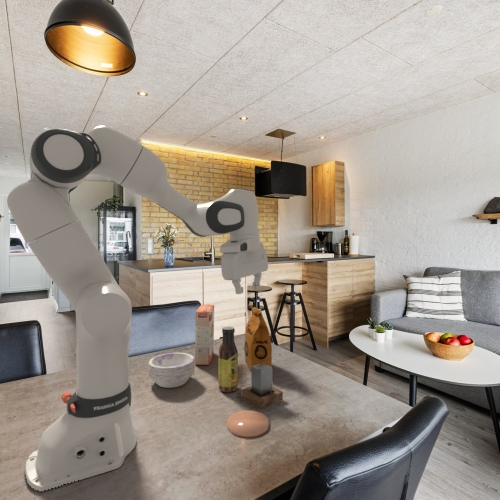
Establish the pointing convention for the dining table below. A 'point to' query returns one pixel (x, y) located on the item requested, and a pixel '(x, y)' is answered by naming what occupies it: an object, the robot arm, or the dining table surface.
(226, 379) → the sauce bottle
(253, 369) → the steel peg
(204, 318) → the cracker box
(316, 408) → the dining table surface
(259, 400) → the socket block
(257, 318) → the coffee package
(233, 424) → the peach domed puck
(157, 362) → the paper bowls
